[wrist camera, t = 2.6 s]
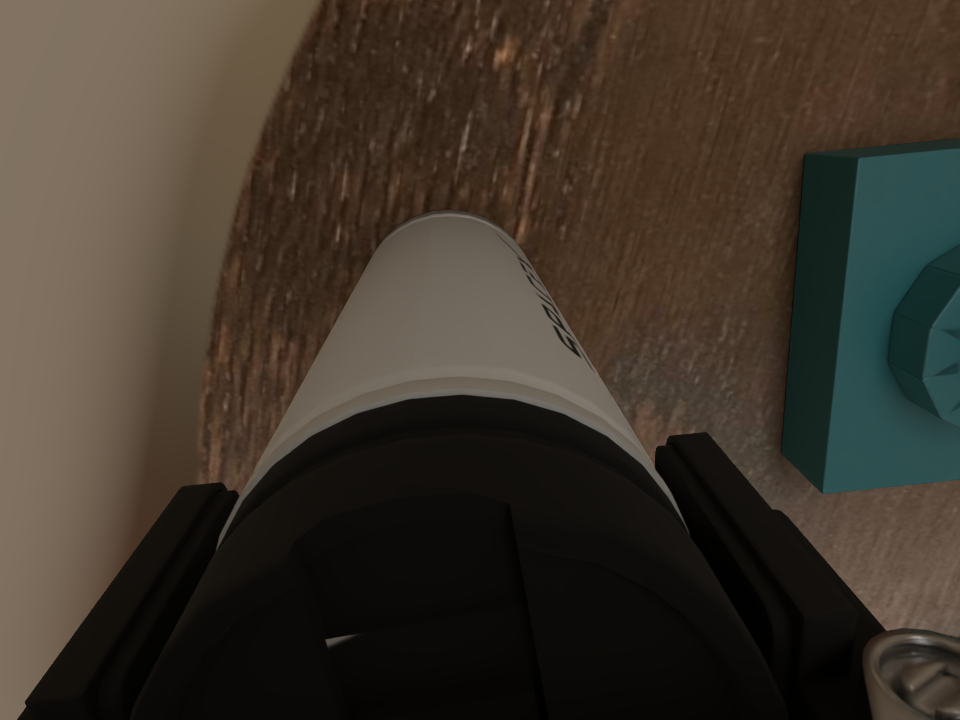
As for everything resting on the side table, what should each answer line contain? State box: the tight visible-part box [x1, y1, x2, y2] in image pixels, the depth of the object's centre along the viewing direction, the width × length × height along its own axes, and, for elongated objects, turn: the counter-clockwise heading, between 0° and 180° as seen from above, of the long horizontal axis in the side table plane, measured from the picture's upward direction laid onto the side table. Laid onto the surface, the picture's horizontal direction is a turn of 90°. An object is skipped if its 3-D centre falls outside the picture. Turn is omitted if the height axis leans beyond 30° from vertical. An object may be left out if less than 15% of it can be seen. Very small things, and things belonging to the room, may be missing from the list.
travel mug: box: [130, 210, 789, 720], centre depth 15 cm, size 6×7×20 cm
